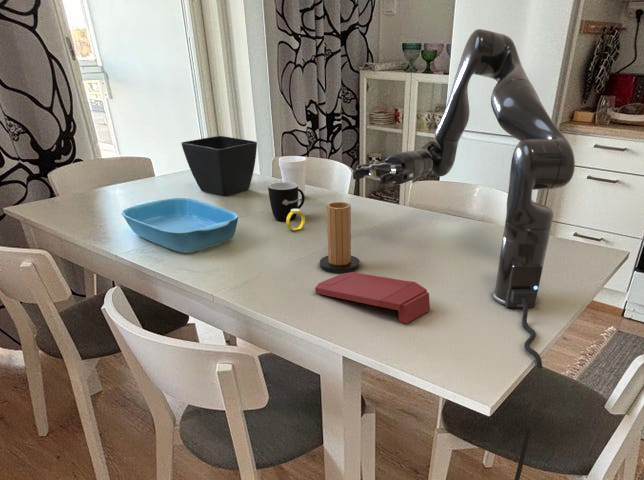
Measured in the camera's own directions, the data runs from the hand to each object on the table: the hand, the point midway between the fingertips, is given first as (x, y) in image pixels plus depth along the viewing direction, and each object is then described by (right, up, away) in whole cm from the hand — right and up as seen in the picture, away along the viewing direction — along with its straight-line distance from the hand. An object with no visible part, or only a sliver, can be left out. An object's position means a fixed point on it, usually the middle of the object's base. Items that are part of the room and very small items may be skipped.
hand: (367, 177), depth 128 cm
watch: (-21, -7, +26) cm, 34 cm away
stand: (-7, -21, +3) cm, 23 cm away
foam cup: (-26, +13, +56) cm, 63 cm away
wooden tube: (-7, -20, +3) cm, 21 cm away
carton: (+1, -32, -13) cm, 35 cm away
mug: (-25, 0, +36) cm, 44 cm away
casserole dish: (-52, -10, +20) cm, 57 cm away
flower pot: (-52, +17, +63) cm, 84 cm away
